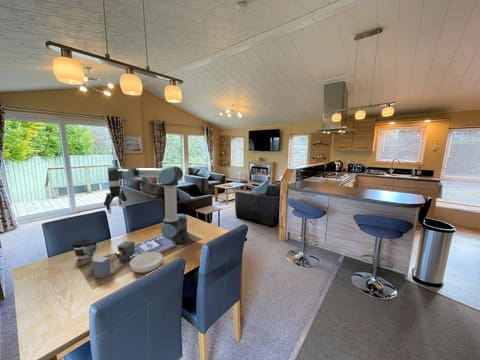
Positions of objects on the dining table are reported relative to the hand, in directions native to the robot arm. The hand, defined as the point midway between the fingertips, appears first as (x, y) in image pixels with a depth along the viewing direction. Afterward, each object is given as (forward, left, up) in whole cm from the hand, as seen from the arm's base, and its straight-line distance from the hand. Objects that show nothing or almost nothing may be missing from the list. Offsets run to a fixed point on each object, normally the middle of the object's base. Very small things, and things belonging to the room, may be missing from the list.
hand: (116, 211), depth 160 cm
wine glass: (-7, +32, -28) cm, 43 cm away
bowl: (-46, +28, -28) cm, 61 cm away
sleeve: (-24, +20, -28) cm, 42 cm away
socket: (-24, +40, -28) cm, 55 cm away
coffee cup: (+7, +26, -28) cm, 38 cm away
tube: (-24, +26, -23) cm, 42 cm away
